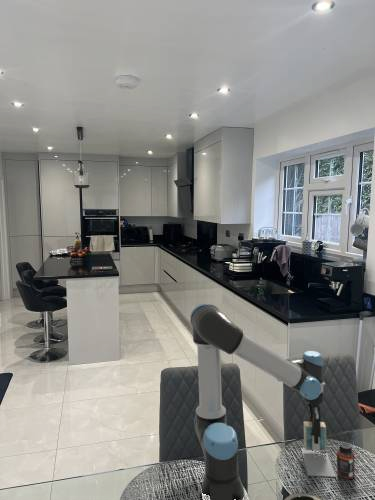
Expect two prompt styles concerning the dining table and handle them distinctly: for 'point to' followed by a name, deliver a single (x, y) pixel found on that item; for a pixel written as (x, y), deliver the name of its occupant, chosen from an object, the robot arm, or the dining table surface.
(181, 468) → the dining table surface
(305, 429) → the small box
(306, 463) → the grey mat
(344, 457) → the supplement bottle
